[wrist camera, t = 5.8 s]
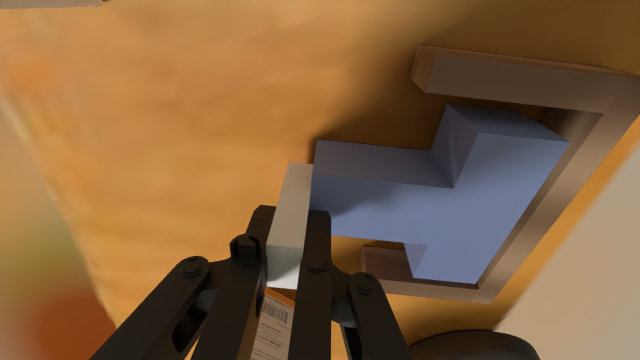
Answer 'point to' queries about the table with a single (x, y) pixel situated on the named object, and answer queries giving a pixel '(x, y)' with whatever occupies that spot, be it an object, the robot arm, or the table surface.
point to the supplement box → (274, 327)
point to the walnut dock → (562, 118)
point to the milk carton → (47, 3)
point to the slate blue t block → (439, 188)
